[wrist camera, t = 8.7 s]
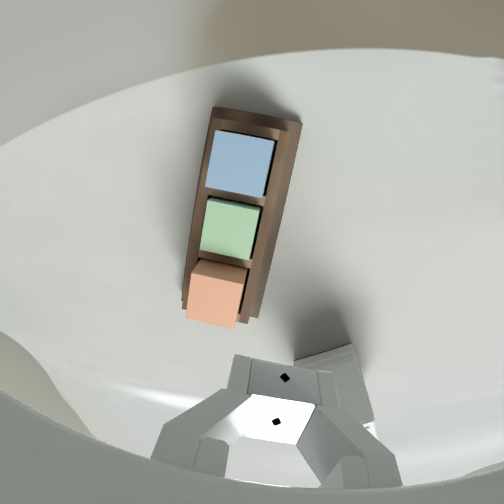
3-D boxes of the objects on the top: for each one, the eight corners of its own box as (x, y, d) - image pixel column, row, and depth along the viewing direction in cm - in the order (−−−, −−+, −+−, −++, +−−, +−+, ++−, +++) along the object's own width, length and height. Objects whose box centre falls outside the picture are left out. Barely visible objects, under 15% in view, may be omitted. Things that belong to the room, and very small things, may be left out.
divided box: (301, 124, 33) (306, 119, 28) (258, 312, 41) (255, 337, 35) (215, 108, 34) (203, 100, 28) (184, 295, 41) (170, 317, 36)
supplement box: (291, 359, 43) (294, 440, 29) (352, 341, 42) (376, 418, 27) (308, 400, 46) (313, 477, 31) (363, 384, 44) (383, 459, 30)
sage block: (261, 202, 34) (259, 211, 30) (252, 245, 36) (248, 260, 31) (217, 193, 34) (207, 200, 30) (209, 236, 36) (199, 249, 31)
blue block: (274, 142, 30) (273, 141, 25) (264, 190, 32) (261, 198, 27) (225, 133, 30) (215, 130, 25) (215, 181, 32) (204, 186, 27)
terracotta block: (248, 265, 34) (243, 284, 30) (239, 305, 36) (233, 328, 31) (203, 255, 34) (191, 272, 30) (197, 295, 36) (185, 317, 31)
